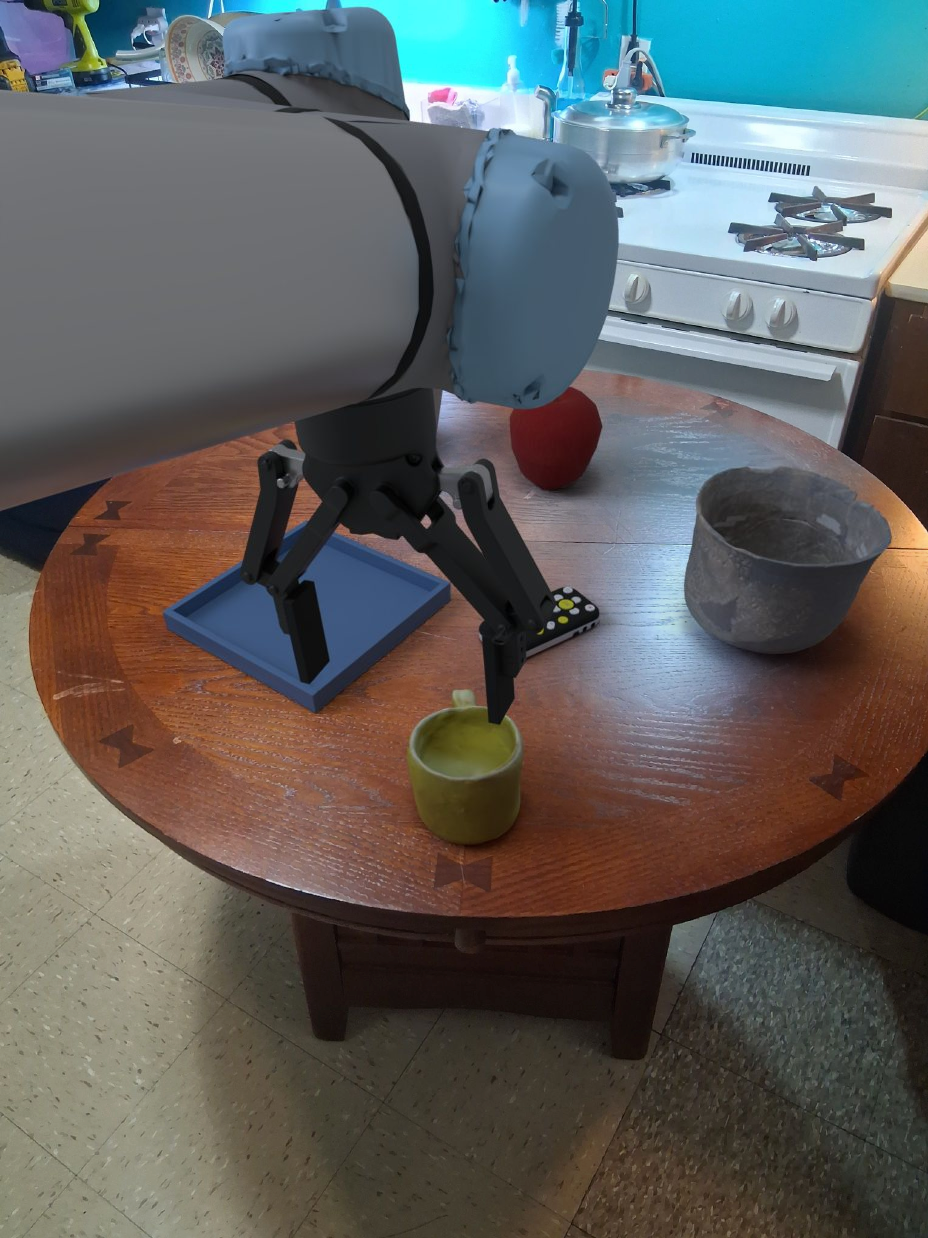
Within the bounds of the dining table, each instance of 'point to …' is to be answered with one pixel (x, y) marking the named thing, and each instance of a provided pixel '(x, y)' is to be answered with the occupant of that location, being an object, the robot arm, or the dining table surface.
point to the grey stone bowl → (778, 557)
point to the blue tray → (350, 610)
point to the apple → (556, 439)
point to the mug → (466, 772)
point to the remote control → (560, 620)
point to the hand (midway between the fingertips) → (404, 690)
